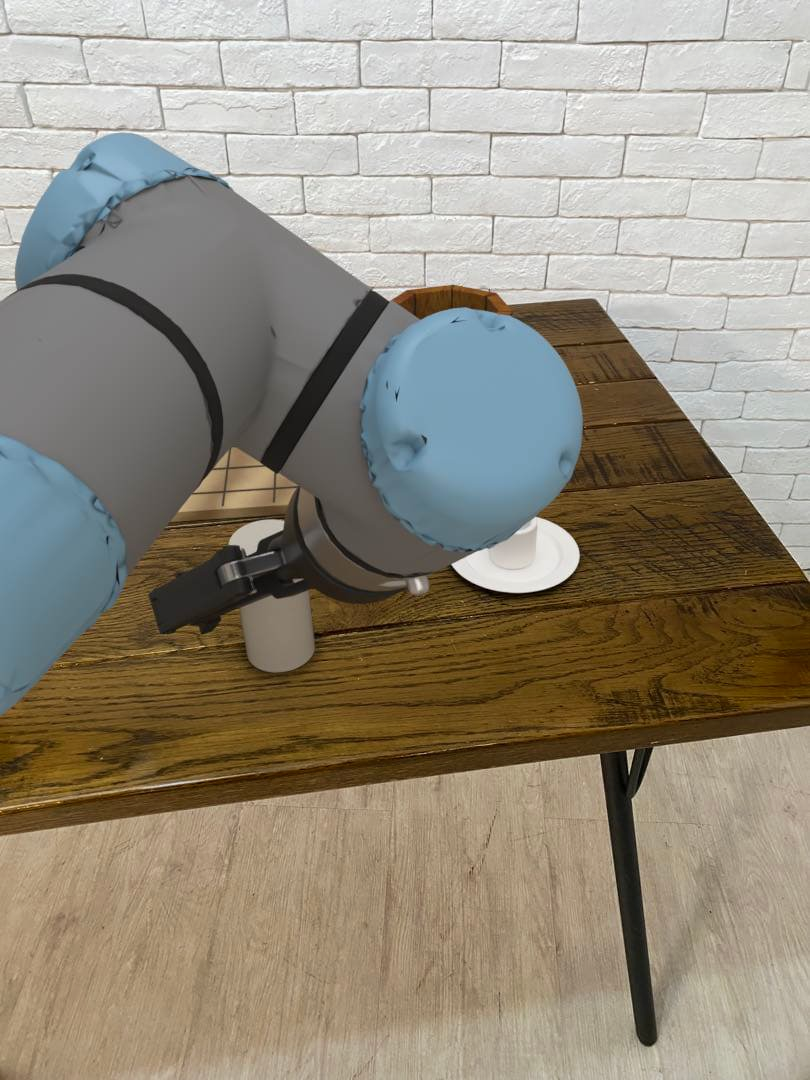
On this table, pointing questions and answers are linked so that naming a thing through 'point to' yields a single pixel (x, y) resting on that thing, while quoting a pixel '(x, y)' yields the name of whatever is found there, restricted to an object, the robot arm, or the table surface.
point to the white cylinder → (274, 615)
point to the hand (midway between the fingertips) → (297, 585)
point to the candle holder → (524, 560)
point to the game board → (238, 491)
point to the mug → (450, 300)
